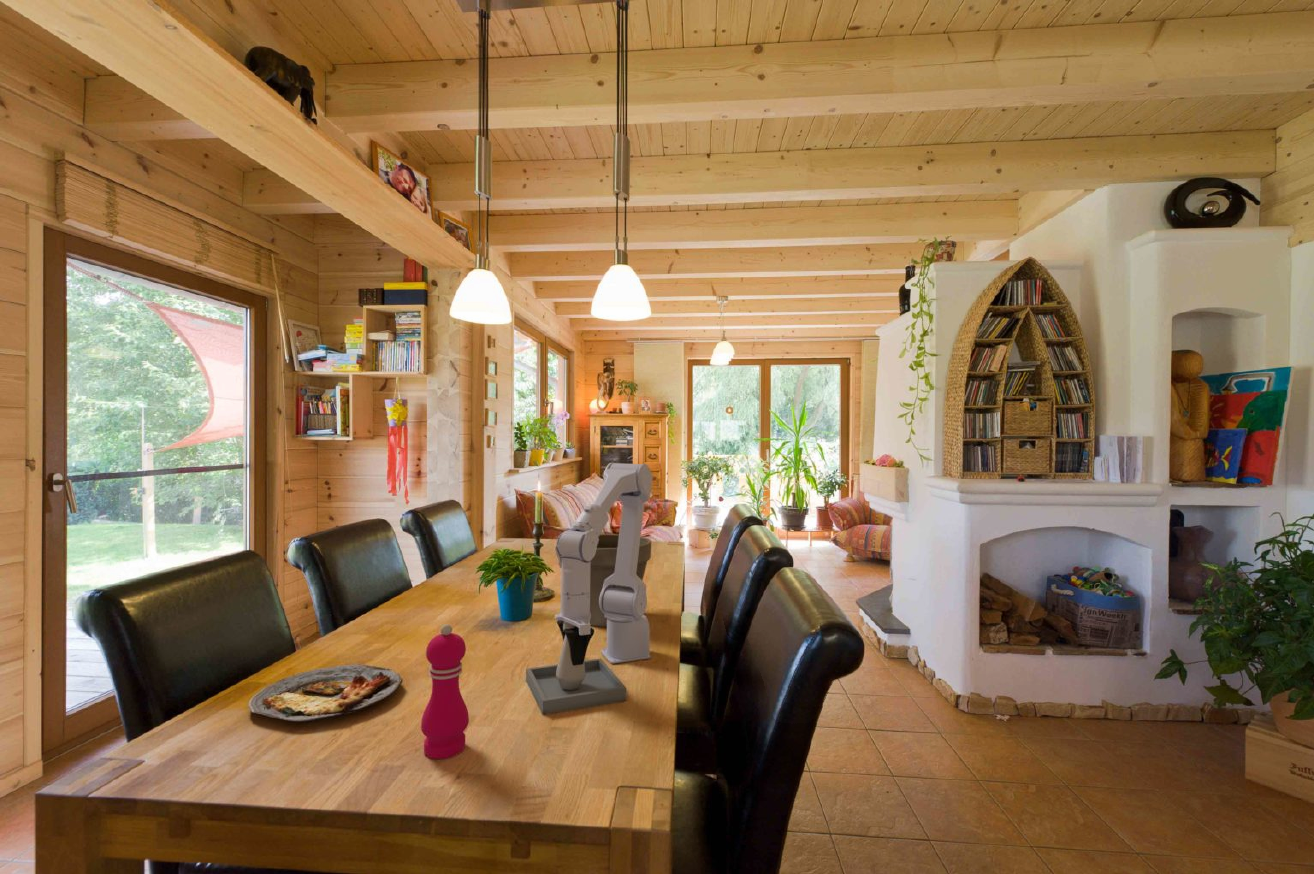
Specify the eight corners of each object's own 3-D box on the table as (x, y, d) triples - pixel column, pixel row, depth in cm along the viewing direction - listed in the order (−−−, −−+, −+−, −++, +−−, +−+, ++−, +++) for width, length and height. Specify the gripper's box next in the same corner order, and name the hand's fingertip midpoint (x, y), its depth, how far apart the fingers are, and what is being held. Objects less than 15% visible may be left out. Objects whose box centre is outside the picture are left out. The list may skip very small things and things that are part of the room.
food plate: (426, 684, 121) (426, 666, 121) (329, 740, 99) (328, 719, 99) (330, 669, 129) (330, 653, 129) (220, 719, 107) (220, 699, 107)
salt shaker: (577, 694, 115) (582, 626, 115) (550, 688, 117) (554, 621, 117) (589, 682, 121) (593, 617, 121) (562, 677, 123) (567, 613, 123)
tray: (600, 669, 130) (601, 658, 130) (626, 700, 115) (626, 687, 115) (525, 680, 123) (526, 668, 123) (542, 714, 109) (542, 700, 109)
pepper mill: (428, 738, 100) (429, 617, 100) (472, 737, 101) (474, 617, 100) (414, 761, 93) (416, 632, 93) (462, 760, 93) (464, 631, 93)
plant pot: (569, 604, 179) (570, 531, 179) (652, 606, 178) (653, 533, 178) (551, 632, 154) (552, 547, 154) (647, 634, 153) (649, 549, 153)
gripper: (547, 584, 124) (546, 650, 124) (564, 603, 111) (563, 676, 111) (580, 581, 127) (579, 646, 127) (601, 599, 114) (600, 671, 114)
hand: (574, 660), depth 119 cm, fingers closed on salt shaker, 4 cm apart
